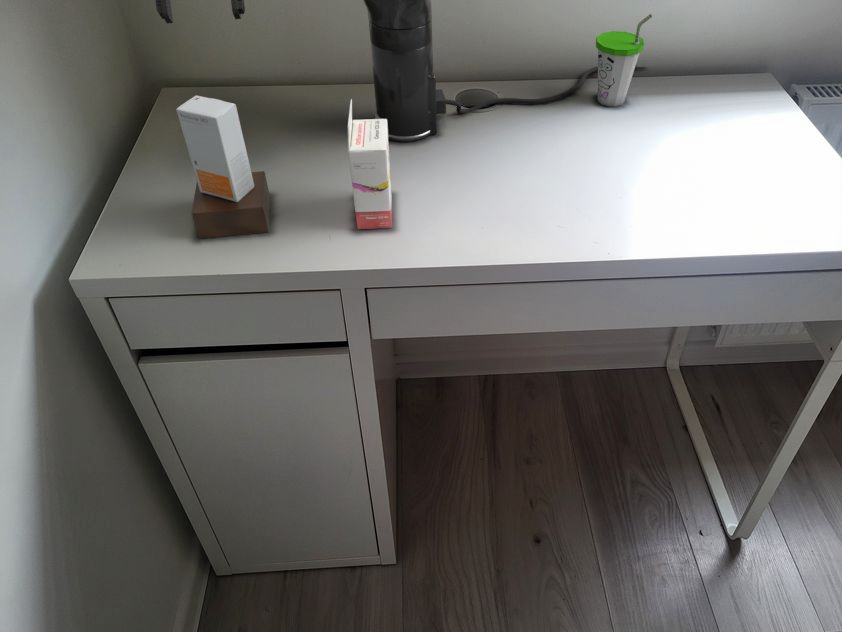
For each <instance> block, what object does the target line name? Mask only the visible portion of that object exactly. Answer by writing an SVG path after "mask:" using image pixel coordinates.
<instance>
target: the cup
mask: <svg viewBox="0 0 842 632" xmlns="http://www.w3.org/2000/svg"><path fill="white" fill-rule="evenodd" d="M652 18H653V16H652V14H651V13H649V14H648V15H647V16H646V17H644V18H643V19H641V21H639V22H638V24H637V27H636V32H635V33H631V32H627V31H617V30H612V31H607V32H602V33H600V34H598V36H596V39H595V48H596V49H597V66H598V71H597V103H599V104H600V105H602V106H605V107H610V108H611V107H612V108H615V107H616V108H617V107H621V106H622V105H624V103H625V101H626V97H627V94H628V91H629V87H630V85H631V83H632V79H633V75H634V72H635V66H636V65H637V62H638V60H639V56H640V53H641V52H642V51H644V47H645V42H644V41H645V40H644V38H642V37H641V36H640V34H641V29H642V26H643V24H645V23H647V22H648V21H649V20H650V19H652Z"/></svg>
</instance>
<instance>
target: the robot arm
mask: <svg viewBox="0 0 842 632" xmlns="http://www.w3.org/2000/svg"><path fill="white" fill-rule="evenodd" d="M171 3H172V2H171V0H155V8H156V11H157V13H158V15H159V16H160V18H161V20H164V22H165V23H166V24H173V23H174V19H173V12H172V11H173V10H172V4H171ZM230 3H231V5H230V6H231V11H232V15H233V17H234V20H241V19H242V15H245V13H246V5H245V0H230ZM363 3H364V5H365V7H366V10H367V19H368V30H369V40H370V52H371V64H372V77H373V87H374V88H373V89H374V99H375V108H376V109H375V112H374V119H387V124H388V140H392V141H398V142H414V141H418V140H422V139H426V138H427V137H429V136H432V135H437V134H438V117H437V115H443V114H444V115H445V114H447V105H450V106H454V107H456V112H457V114H461V115H464V114H468V113H471V112H474V111H476V110H480V109H483V108H485V107H489V106H491V105H496V104H497V105H498V104H505V103H506V104H527V105H533V104H534V105H536V104H545V103H549V102H554V101H557V100H560V99H563V98H564V97H567V96H568V95H571V94H572V93H574V92H576V91H577V90H579V89H580V88H581V87H582V86H583V85H584V82H585V80H586V79H587V77H588V76H589V75H591V74H593V73H596V72H598V67H597V66H595V67H592V68H590V69H588V70H586V71H585V72H584V73H583V74H582V75H581V77H580V79H579V81H578V82H577V84H575V85H573V86H572V87H571V88H569V89H567V90H564V91H563V92H561V93H559V94H555V95H552V96H547V97H541V98H519V97H500V98H493V99H489V100H486V101H483V102H480V103H479V104H476V105H474V106H472V107H470V108H465V109H463V108H462V104H461V103H460V102H459V100H458V101H457V100H454V99H448V98H446V97H445V94H444V90H443V89H442V88H441V89H440V88H439V89H437V80H436V79H437V77H436V74H435V70H434V52H433V51H434V49H433V48H434V47H433V46H434V45H433V44H434V43H433V12H432V11H433V9H432V8H433V5H432V0H363ZM639 69H640V68H639V67H638V65H637V64H636V66H635V69H634V71H636V70H637V71H638V70H639Z"/></svg>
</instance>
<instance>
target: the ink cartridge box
mask: <svg viewBox="0 0 842 632" xmlns="http://www.w3.org/2000/svg"><path fill="white" fill-rule="evenodd" d="M349 101H350V102H349V110H348V119H347V156H348V162H349V169H350V170H349V172H350V178H351V186H352V187H351V188H352V194H353V195H352V196H353V205H354V211H355V219H356V220H355V221H356V229H357V230H367V229H368V230H369V229H372V230H373V229H392V227H393V224H392V219H393V218H392V216H393V215H392V211H393V210H392V204H393V203H392V198H393V197H392V195H393V194H392V186H391V185H392V184H391V168H390V167H391V166H390V164H391V163H390V148H389V147H390V146H389V145H390V144H389V139H388V124H387V119H375V118H372V119H371V118H369V119H368V118H367V119H353V99H352V98H351V99H350V100H349Z"/></svg>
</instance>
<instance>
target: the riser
mask: <svg viewBox="0 0 842 632" xmlns="http://www.w3.org/2000/svg"><path fill="white" fill-rule="evenodd" d="M251 173H252V177H253V182H254V188H253V189H252V190H251V191H250V192H248V193H247V194H246V195H245V196H244V197H243V198H242V199H241V200H240V201H239V202H235V201H231V200H228V199H224V198H221V197H217V196H213V195H209V194H206V193H201V192H200V189H199V186H198V182H197V181H196V185H195V189H194V196H193V201H192V208H191V217H192V221H193V222H194V225H195V226H194V227H195V230H196V232H197V236H198V238H199V239H210V238H211V239H212V238H220V237H233V236H243V235H252V234H253V235H254V234H263V233H269V232H270V231H269V230H270V205H271V204H270V203H271V199H270V198H271V194H270V190H269V186H268V181H267V175H266V171H264V170H261V171H260V170H259V171H251Z"/></svg>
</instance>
